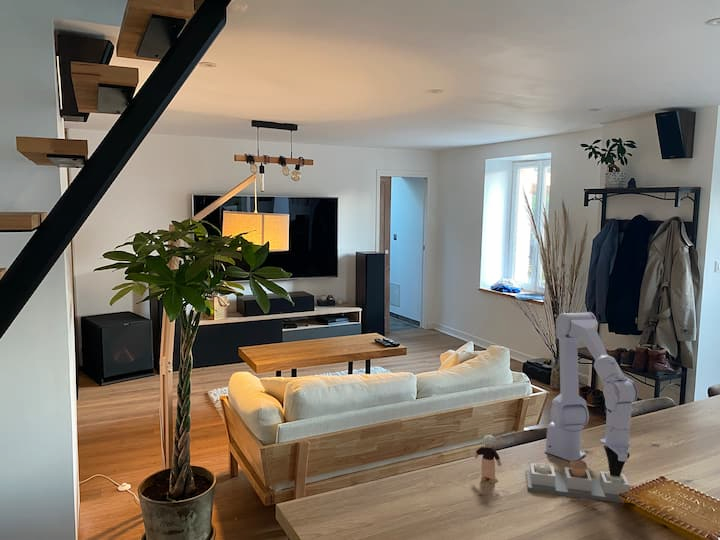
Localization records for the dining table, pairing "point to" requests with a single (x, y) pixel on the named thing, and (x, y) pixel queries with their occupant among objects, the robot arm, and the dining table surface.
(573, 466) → the middle knob
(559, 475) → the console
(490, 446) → the grandmother figurine
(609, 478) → the knob
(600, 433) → the dining table surface
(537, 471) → the knob
